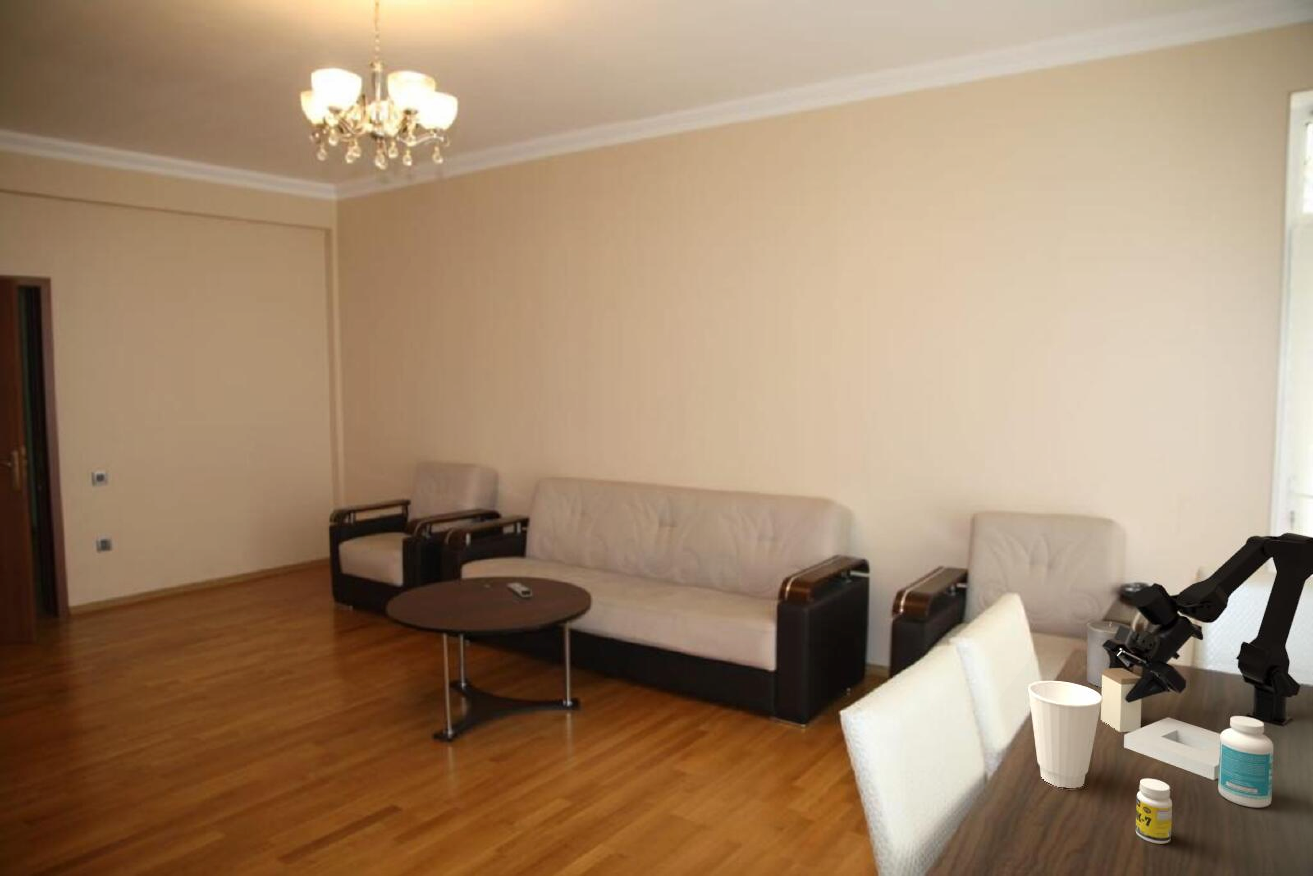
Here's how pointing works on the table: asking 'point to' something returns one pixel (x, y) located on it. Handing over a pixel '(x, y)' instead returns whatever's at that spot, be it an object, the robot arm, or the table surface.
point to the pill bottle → (1246, 763)
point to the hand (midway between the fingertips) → (1115, 694)
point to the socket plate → (1178, 746)
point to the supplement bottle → (1154, 811)
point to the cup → (1064, 730)
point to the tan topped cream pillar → (1119, 700)
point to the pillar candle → (1100, 648)
